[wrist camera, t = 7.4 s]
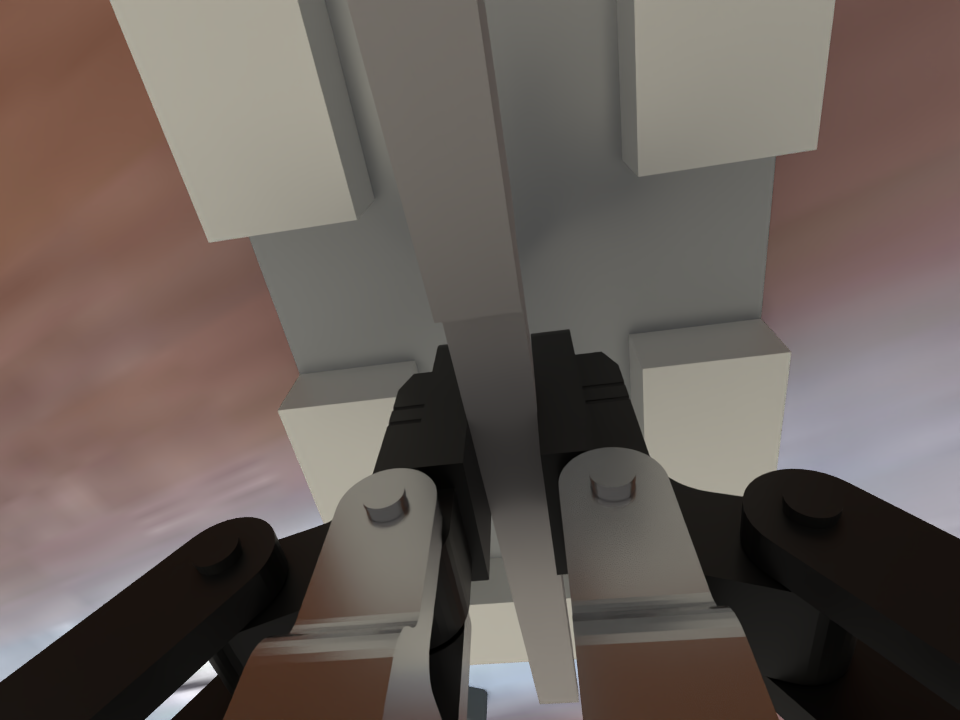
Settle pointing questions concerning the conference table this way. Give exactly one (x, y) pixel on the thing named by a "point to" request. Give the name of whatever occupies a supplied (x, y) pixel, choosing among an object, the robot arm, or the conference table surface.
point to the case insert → (537, 212)
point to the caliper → (473, 280)
